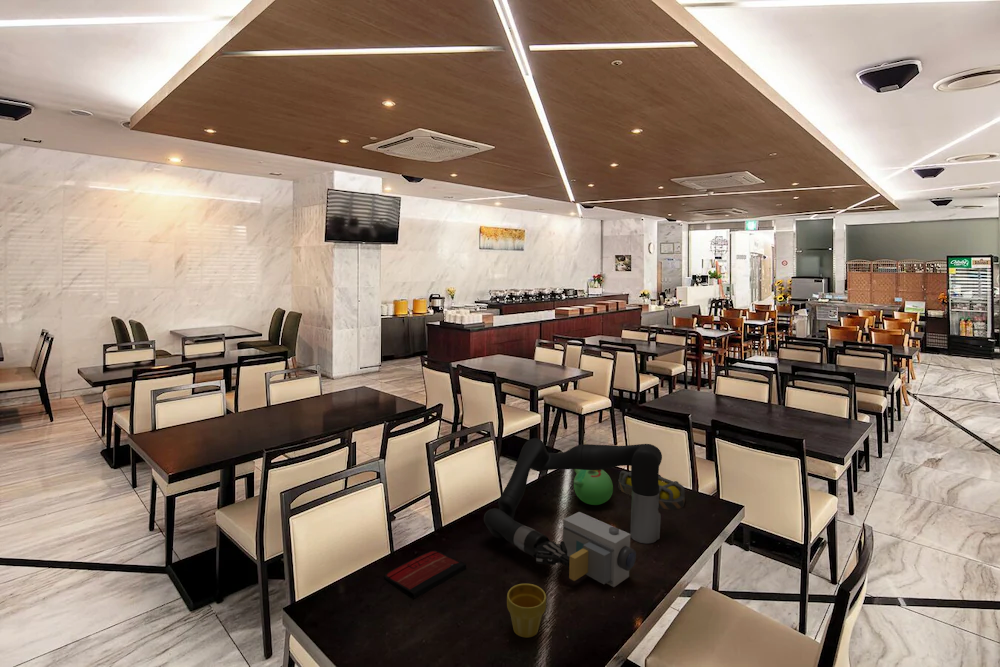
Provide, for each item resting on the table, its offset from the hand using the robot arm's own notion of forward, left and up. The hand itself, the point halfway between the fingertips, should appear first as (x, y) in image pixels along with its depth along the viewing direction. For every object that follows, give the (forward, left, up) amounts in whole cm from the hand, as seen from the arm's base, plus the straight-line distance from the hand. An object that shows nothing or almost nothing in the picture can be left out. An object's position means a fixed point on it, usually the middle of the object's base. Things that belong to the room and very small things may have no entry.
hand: (572, 563), depth 155 cm
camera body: (-11, -5, -7) cm, 14 cm away
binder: (+42, -19, -8) cm, 46 cm away
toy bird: (-31, -50, -7) cm, 59 cm away
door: (-5, +2, -5) cm, 7 cm away
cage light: (-58, -49, -7) cm, 76 cm away
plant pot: (+20, +14, -7) cm, 25 cm away
